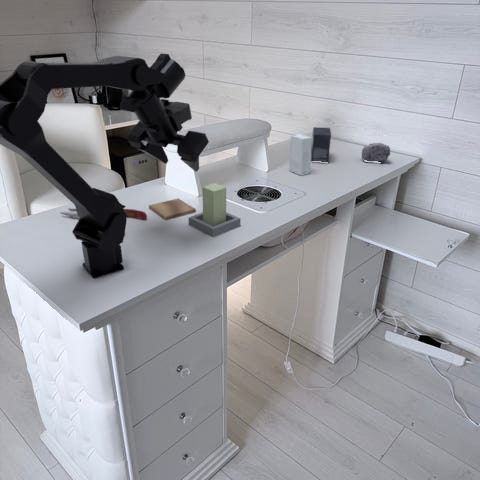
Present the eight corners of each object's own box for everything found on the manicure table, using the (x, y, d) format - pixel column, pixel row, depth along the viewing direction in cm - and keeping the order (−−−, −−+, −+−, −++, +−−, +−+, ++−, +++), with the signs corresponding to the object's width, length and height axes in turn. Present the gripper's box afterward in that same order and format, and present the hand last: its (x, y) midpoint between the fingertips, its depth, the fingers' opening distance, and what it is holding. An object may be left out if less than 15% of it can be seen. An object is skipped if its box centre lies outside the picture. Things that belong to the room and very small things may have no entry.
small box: (310, 154, 165) (312, 126, 160) (327, 155, 164) (330, 127, 160) (310, 162, 156) (313, 133, 151) (328, 164, 155) (332, 134, 150)
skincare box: (310, 173, 145) (313, 137, 139) (299, 176, 143) (303, 139, 137) (297, 168, 149) (300, 133, 144) (287, 171, 147) (290, 135, 142)
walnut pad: (165, 219, 110) (165, 217, 110) (149, 208, 117) (148, 205, 116) (195, 211, 115) (195, 209, 115) (178, 201, 122) (178, 198, 121)
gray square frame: (213, 236, 103) (213, 229, 102) (188, 224, 108) (188, 217, 107) (240, 225, 108) (240, 218, 108) (215, 214, 114) (215, 207, 113)
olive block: (213, 230, 106) (213, 191, 101) (203, 225, 108) (202, 186, 104) (226, 225, 108) (226, 187, 104) (215, 220, 111) (215, 183, 106)
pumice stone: (364, 162, 166) (356, 161, 158) (369, 141, 164) (361, 139, 156) (392, 166, 161) (385, 165, 152) (397, 145, 159) (390, 143, 151)
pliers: (80, 206, 118) (79, 197, 116) (149, 220, 111) (148, 210, 110) (48, 224, 108) (46, 214, 106) (122, 240, 101) (120, 229, 100)
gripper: (208, 92, 87) (232, 148, 99) (141, 82, 96) (170, 134, 108) (179, 131, 83) (207, 184, 95) (111, 117, 92) (144, 167, 104)
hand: (181, 166), depth 101 cm, fingers open, 9 cm apart
